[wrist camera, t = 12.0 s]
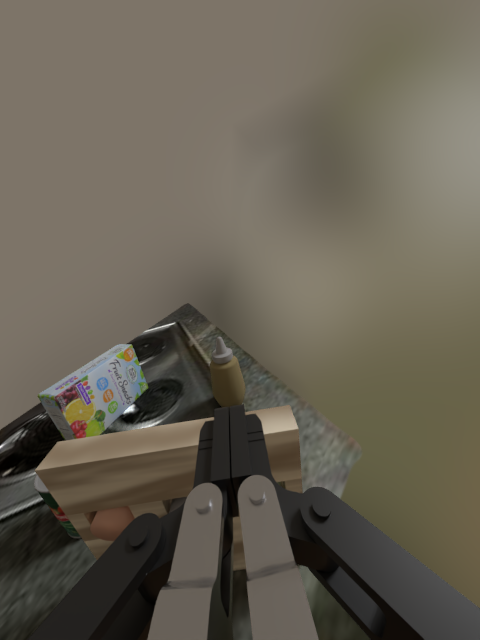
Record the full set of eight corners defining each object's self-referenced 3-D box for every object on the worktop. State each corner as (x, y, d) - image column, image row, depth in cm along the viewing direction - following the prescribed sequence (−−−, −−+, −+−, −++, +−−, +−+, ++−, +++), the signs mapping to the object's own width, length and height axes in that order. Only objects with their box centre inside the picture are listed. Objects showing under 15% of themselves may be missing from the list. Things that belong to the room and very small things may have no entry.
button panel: (306, 558, 28) (298, 428, 20) (117, 589, 28) (34, 470, 20) (286, 478, 38) (275, 367, 30) (144, 501, 37) (94, 395, 29)
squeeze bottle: (209, 406, 56) (193, 342, 49) (229, 387, 62) (217, 328, 55) (234, 419, 51) (220, 350, 45) (253, 397, 57) (244, 333, 50)
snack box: (134, 386, 69) (117, 343, 63) (149, 388, 67) (133, 343, 62) (67, 447, 51) (35, 393, 45) (84, 452, 49) (53, 396, 43)
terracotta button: (136, 537, 24) (123, 514, 22) (98, 543, 24) (83, 521, 22) (148, 496, 27) (138, 474, 26) (116, 501, 27) (104, 479, 26)
